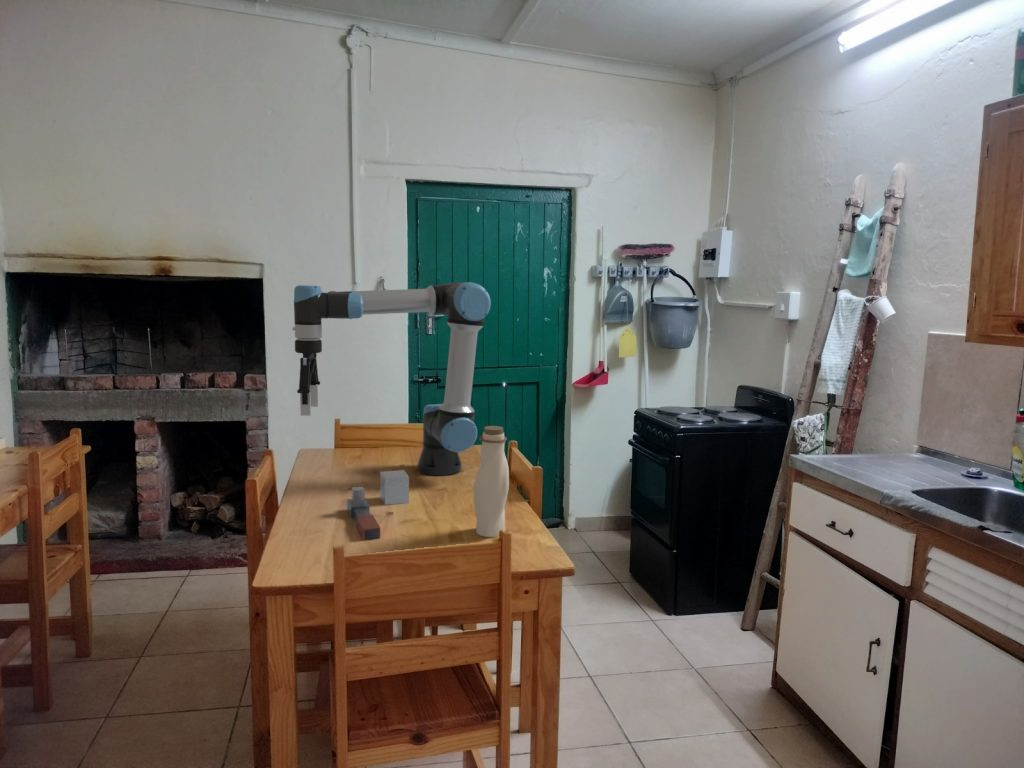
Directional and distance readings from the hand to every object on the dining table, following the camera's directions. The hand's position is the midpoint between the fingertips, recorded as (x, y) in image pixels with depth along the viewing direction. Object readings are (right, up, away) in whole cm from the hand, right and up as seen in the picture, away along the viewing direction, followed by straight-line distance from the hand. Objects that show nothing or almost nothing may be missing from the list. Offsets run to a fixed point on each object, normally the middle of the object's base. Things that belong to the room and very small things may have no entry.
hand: (309, 410), depth 200 cm
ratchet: (+20, -29, -19) cm, 40 cm away
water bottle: (+54, -31, -21) cm, 66 cm away
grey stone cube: (+25, -27, +1) cm, 36 cm away
